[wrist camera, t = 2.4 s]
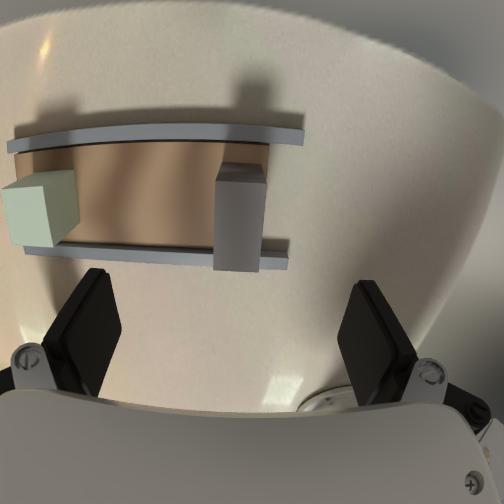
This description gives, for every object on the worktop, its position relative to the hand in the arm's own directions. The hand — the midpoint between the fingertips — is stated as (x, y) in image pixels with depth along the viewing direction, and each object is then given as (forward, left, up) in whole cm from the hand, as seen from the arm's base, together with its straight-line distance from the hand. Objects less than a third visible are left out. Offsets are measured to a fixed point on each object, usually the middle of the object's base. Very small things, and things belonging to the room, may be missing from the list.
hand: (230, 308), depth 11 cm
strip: (+10, 0, -15) cm, 18 cm away
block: (+17, 0, -14) cm, 22 cm away
